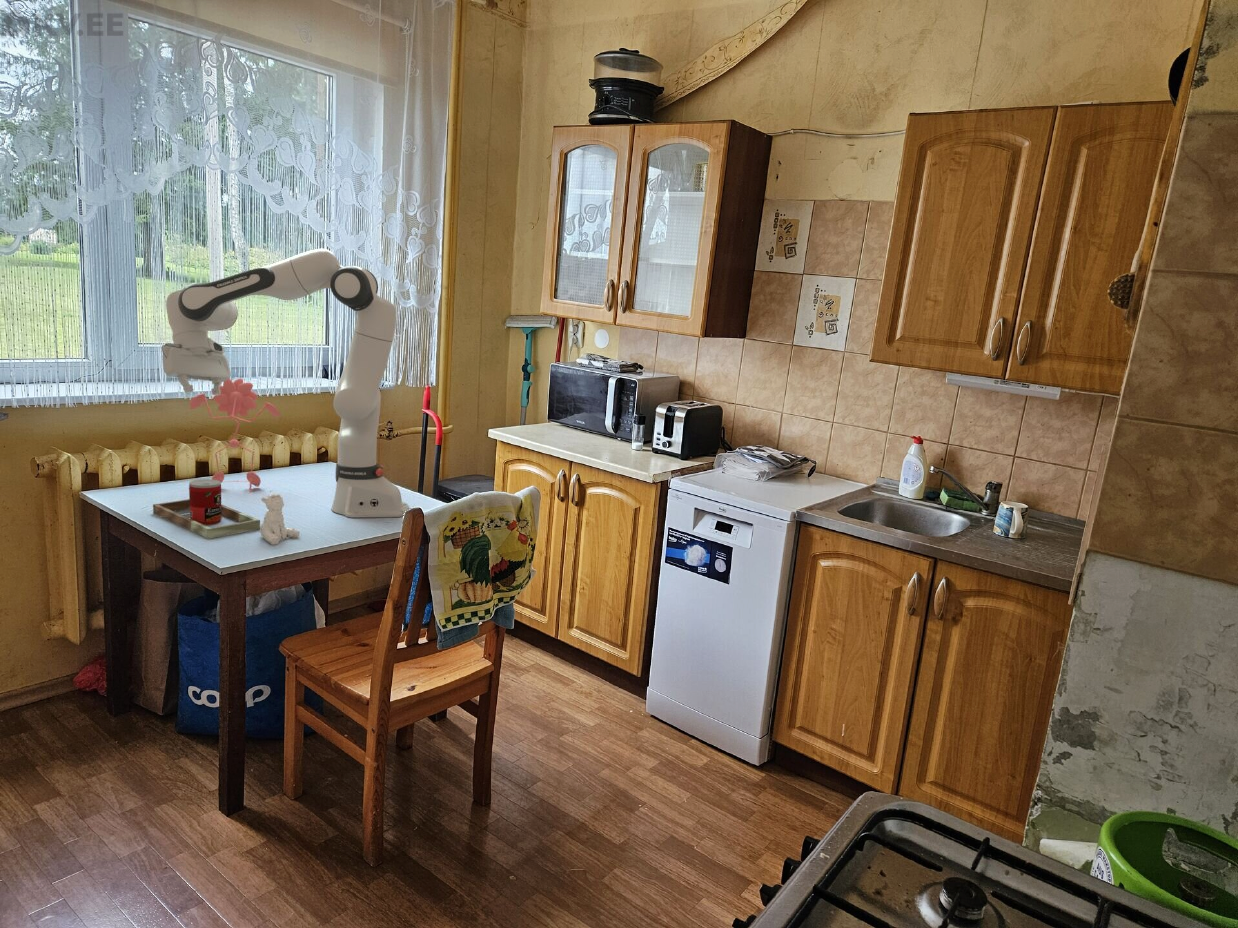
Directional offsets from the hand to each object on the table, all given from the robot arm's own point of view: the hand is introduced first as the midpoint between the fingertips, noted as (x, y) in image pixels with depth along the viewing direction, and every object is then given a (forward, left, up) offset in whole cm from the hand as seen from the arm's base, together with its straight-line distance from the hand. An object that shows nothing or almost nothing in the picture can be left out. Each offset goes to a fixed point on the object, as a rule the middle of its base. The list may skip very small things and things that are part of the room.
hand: (203, 393), depth 228 cm
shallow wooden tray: (-4, +13, -33) cm, 36 cm away
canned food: (-4, +13, -34) cm, 36 cm away
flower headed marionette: (-1, -26, -34) cm, 42 cm away
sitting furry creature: (-25, +26, -34) cm, 50 cm away
